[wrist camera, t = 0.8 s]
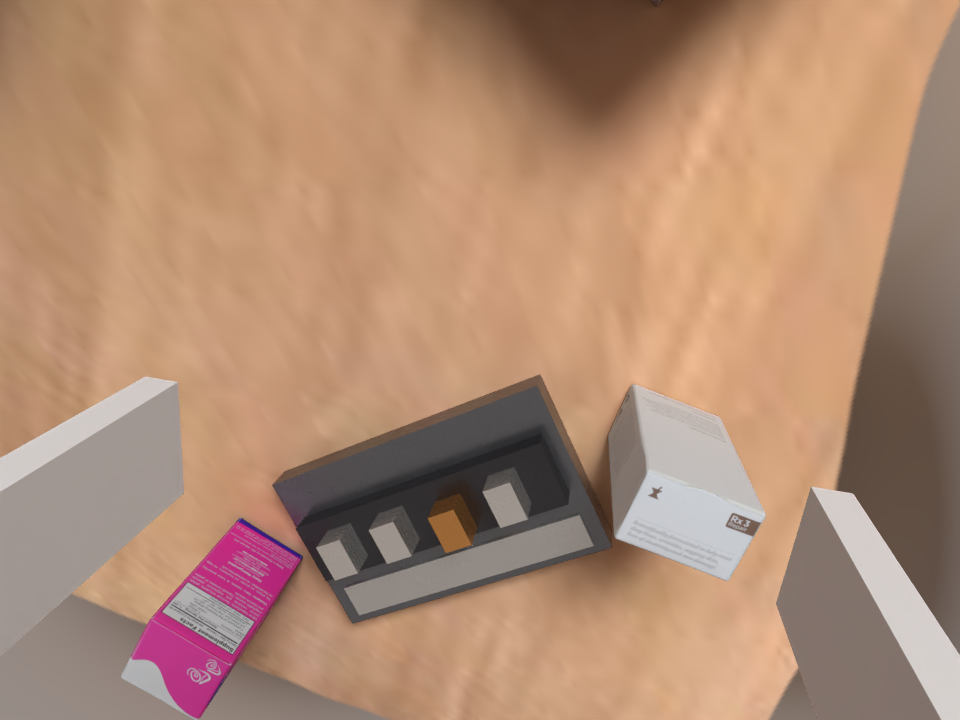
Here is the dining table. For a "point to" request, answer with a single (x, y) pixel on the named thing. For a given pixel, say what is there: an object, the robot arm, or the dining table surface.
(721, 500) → the skincare box
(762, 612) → the dining table surface
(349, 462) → the breaker panel
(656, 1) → the tissue box cover
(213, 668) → the supplement box
